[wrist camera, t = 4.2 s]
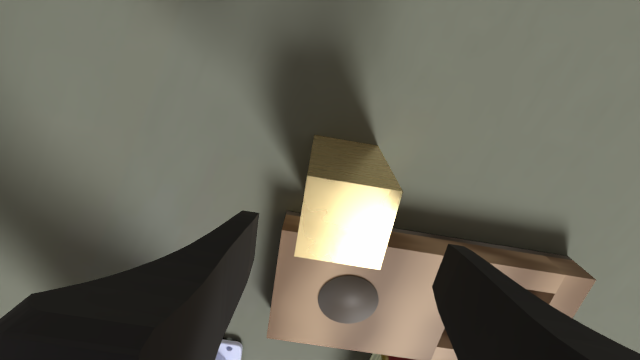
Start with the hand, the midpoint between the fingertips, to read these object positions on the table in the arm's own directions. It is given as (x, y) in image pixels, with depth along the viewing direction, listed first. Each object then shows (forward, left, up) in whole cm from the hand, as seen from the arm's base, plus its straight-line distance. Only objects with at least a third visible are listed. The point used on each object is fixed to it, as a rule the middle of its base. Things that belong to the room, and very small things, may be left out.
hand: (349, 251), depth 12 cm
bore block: (+7, -8, -9) cm, 14 cm away
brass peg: (0, 0, -9) cm, 9 cm away
